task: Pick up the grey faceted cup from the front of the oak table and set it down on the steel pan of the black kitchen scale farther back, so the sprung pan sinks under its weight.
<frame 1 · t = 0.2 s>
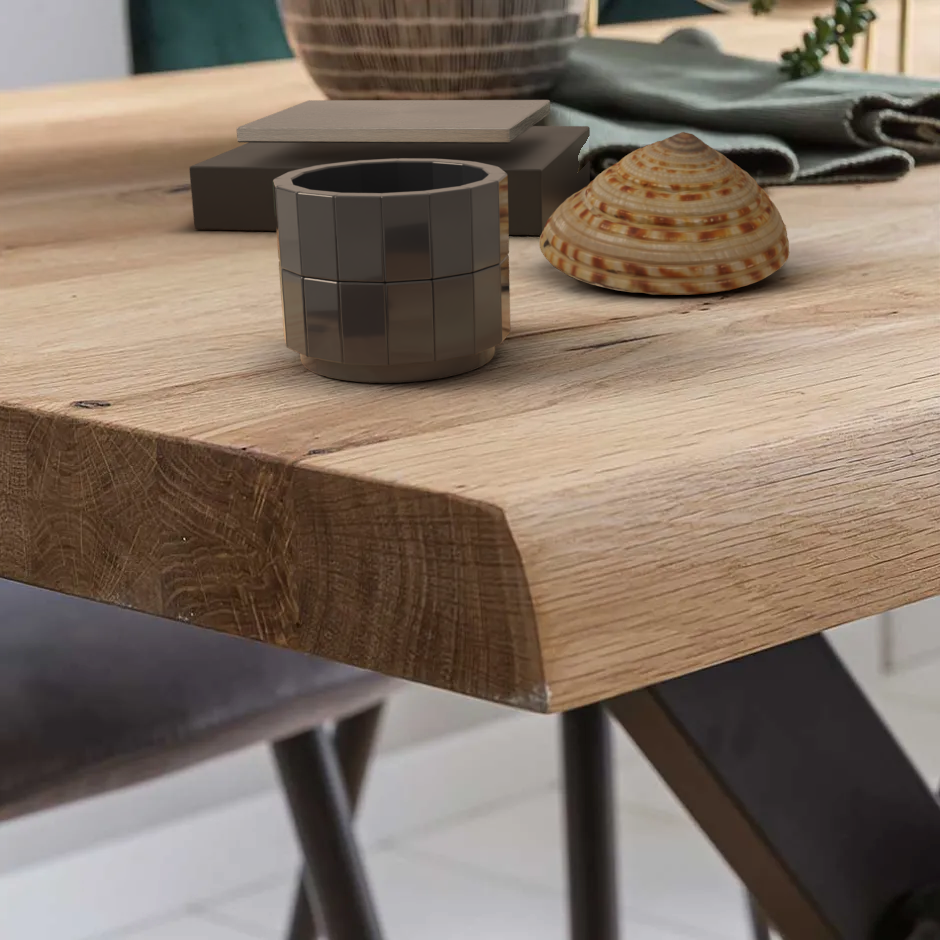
grey faceted cup: (398, 355, 44), on the table
scale: (403, 204, 66), on the table
scale pan: (400, 120, 65), point 4 cm above the table, slide at 0.0 cm
seashell: (660, 273, 54), on the table
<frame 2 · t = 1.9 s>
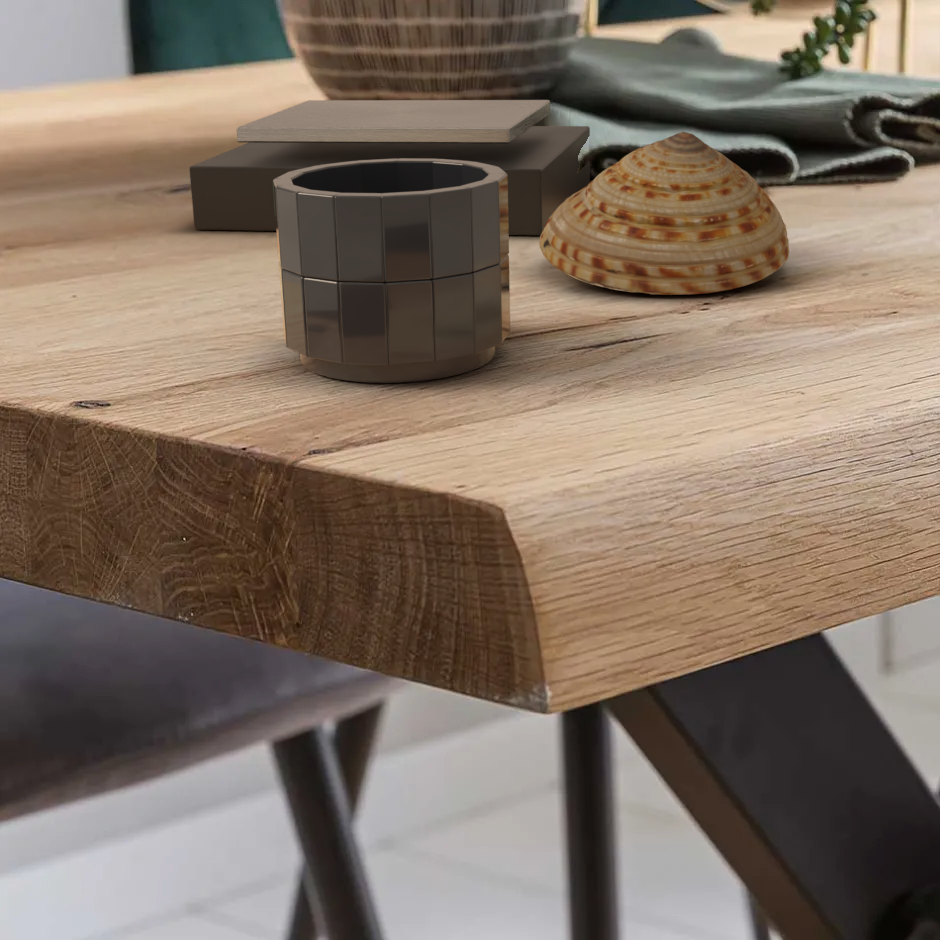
nothing on the table moved.
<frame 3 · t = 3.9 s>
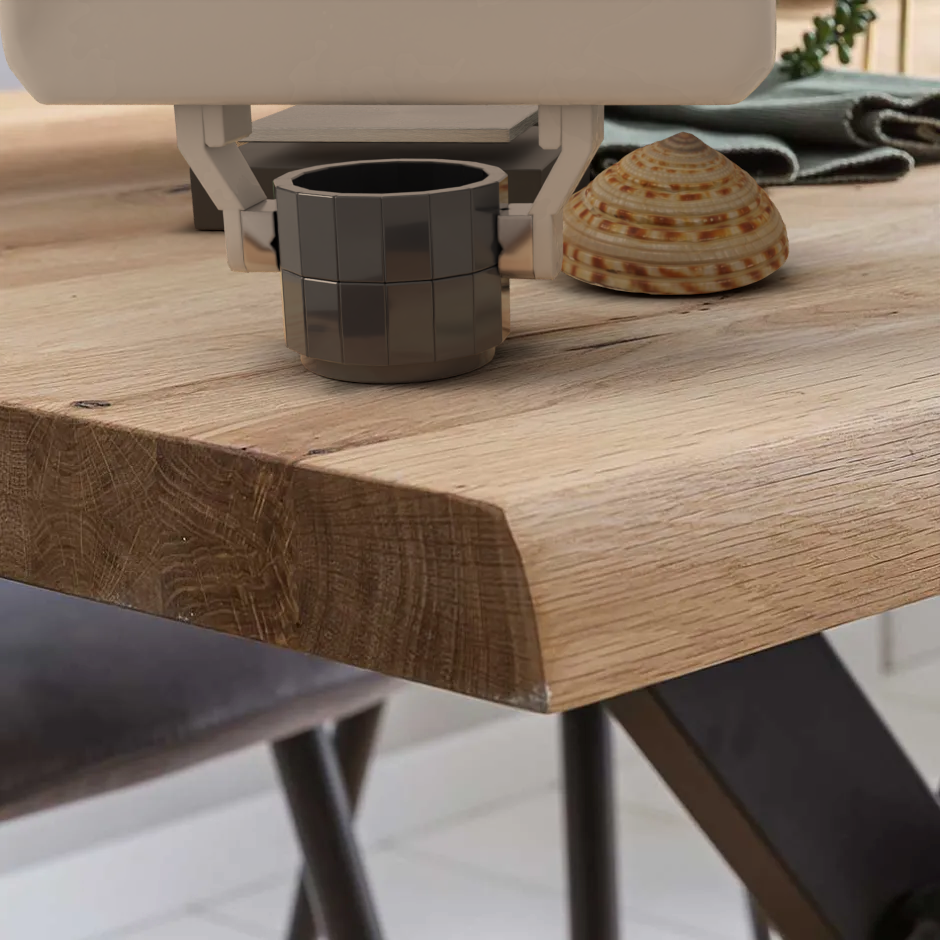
hand: (393, 272, 43), 2 cm above the table, tool pointing down, fingers closed on grey faceted cup, 6 cm apart
grey faceted cup: (398, 356, 44), on the table, touching gripper
everything else where it was.
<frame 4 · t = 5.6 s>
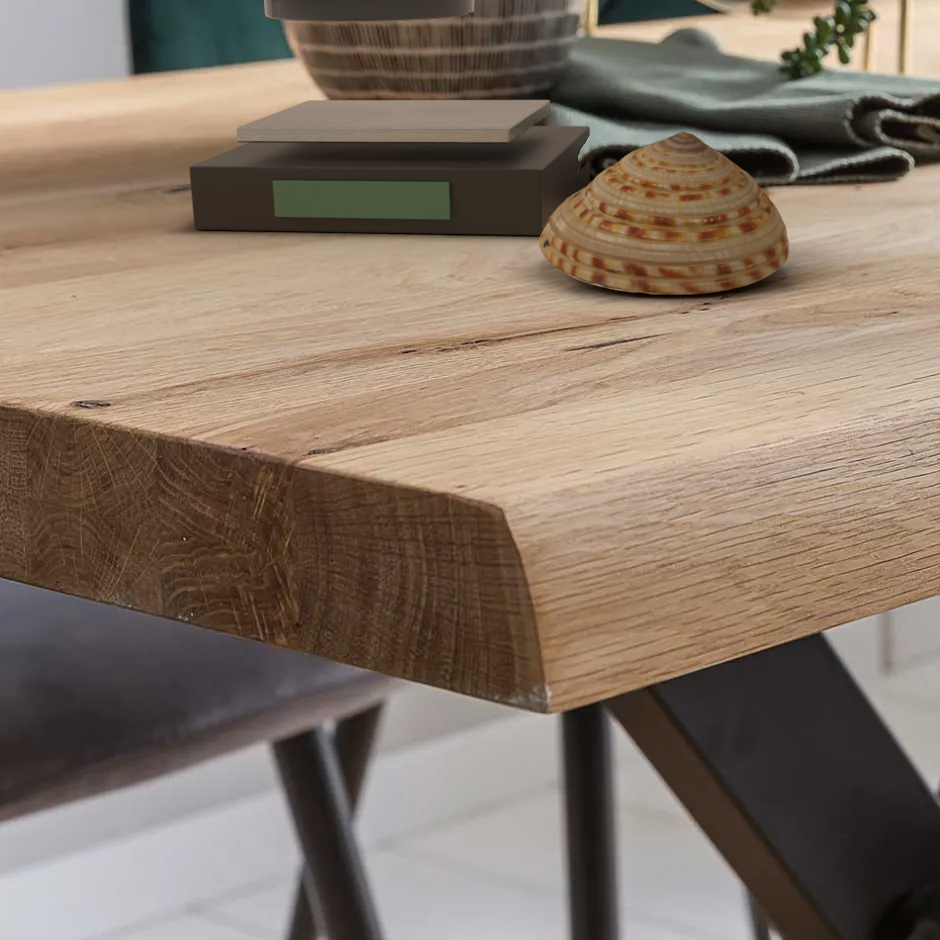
grey faceted cup: (370, 14, 41), point 9 cm above the table, touching gripper
everything else where it was.
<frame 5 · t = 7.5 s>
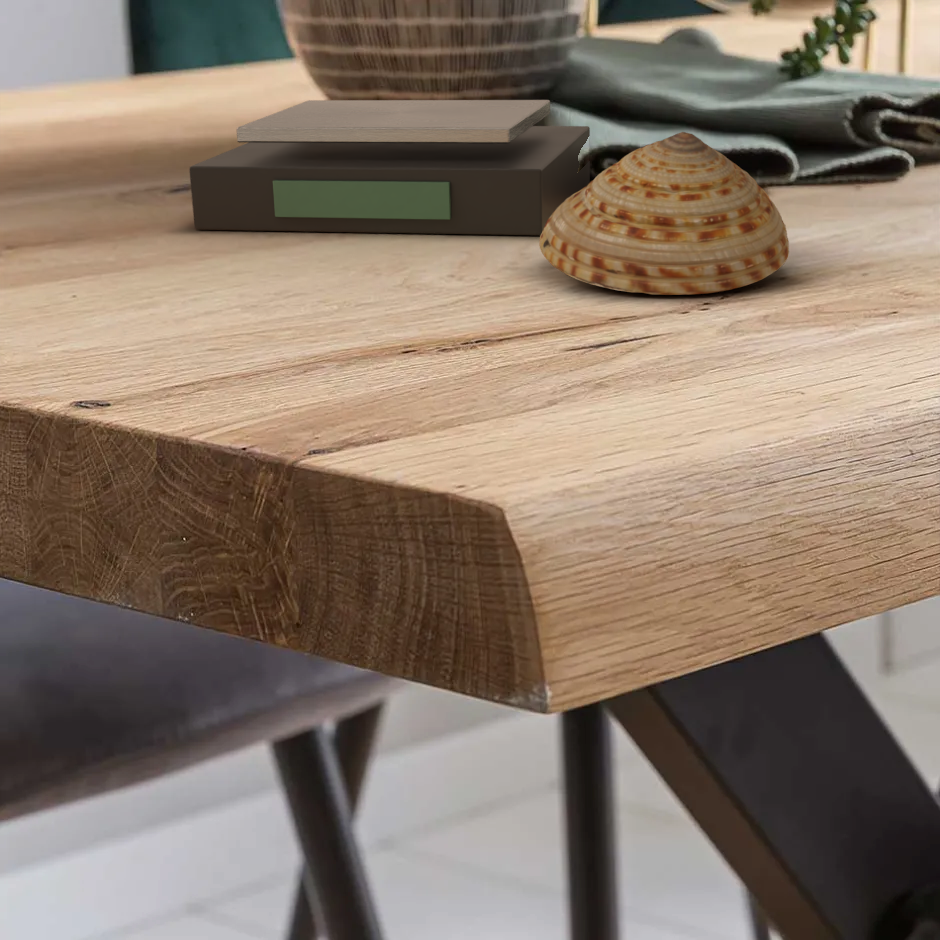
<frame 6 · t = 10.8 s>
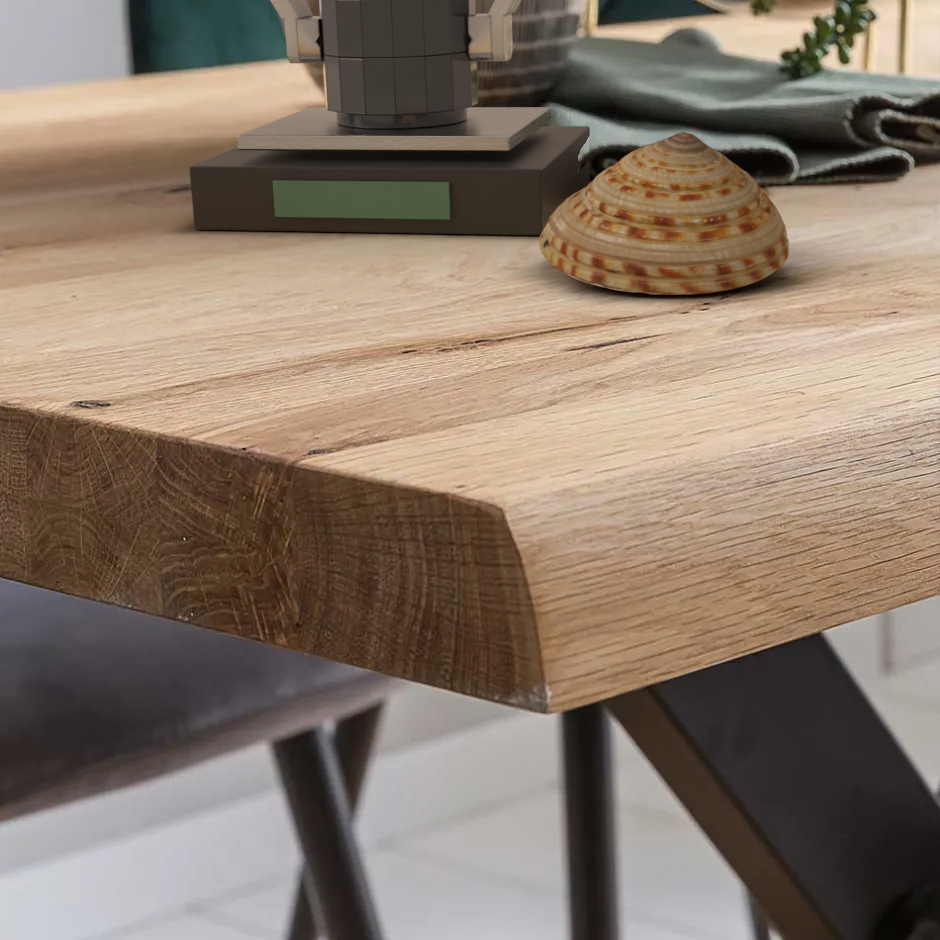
hand: (399, 61, 64), 6 cm above the table, tool pointing down, fingers closed on grey faceted cup, 6 cm apart
grey faceted cup: (402, 120, 65), point 4 cm above the table, touching gripper, scale pan
scale pan: (400, 127, 65), point 3 cm above the table, slide at -0.3 cm, touching grey faceted cup
everything else where it was.
when the fingers open (6 cm above the table, at t = 11.0 s): grey faceted cup stays where it is, resting on scale pan.
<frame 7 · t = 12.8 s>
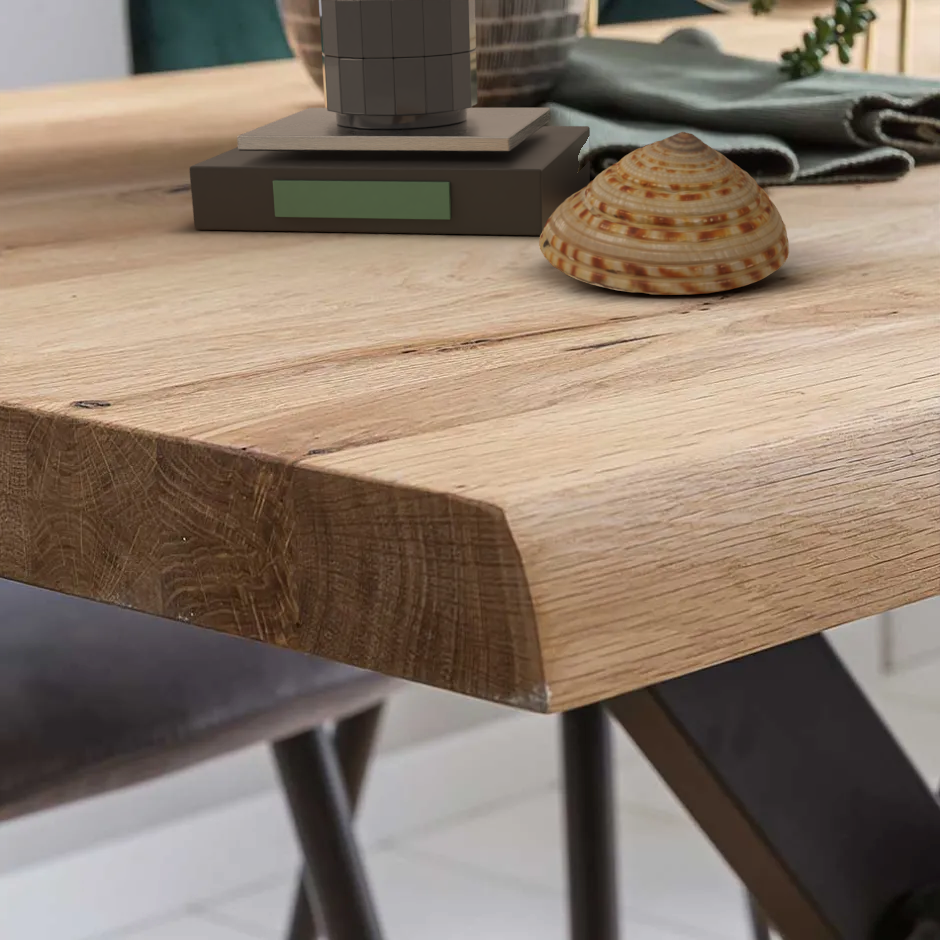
grey faceted cup: (401, 120, 65), point 3 cm above the table, touching scale pan
everything else where it was.
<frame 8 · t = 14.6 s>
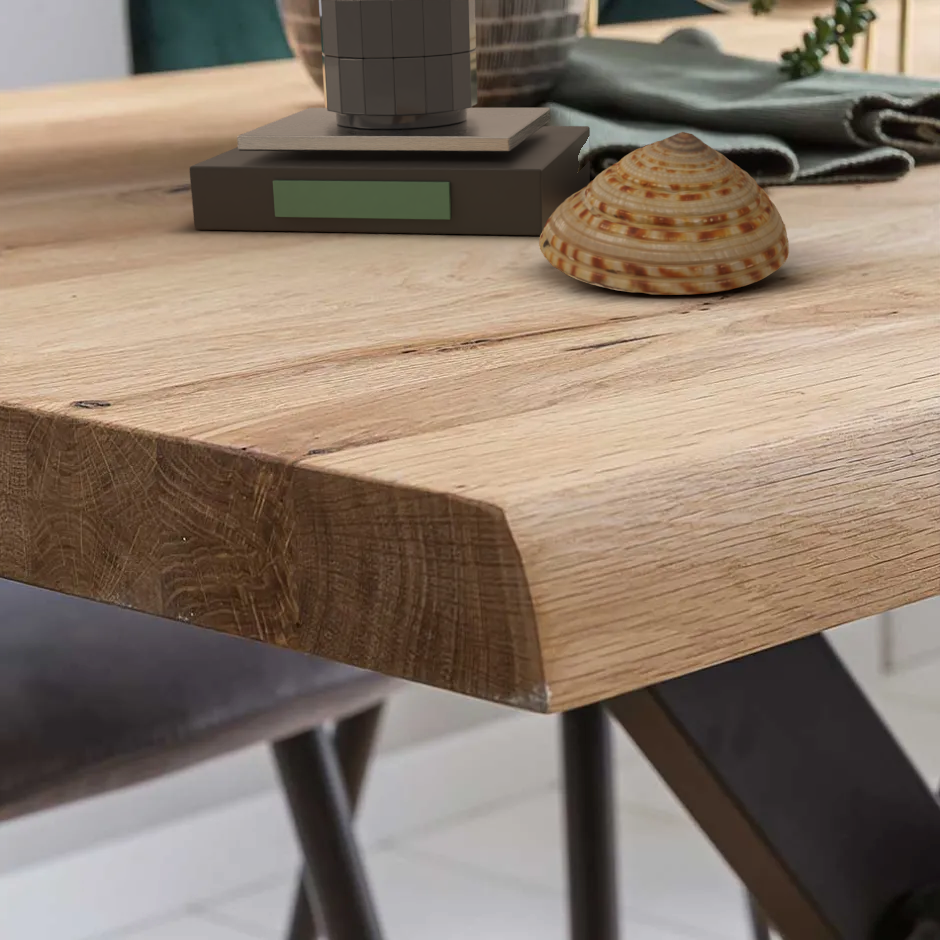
nothing on the table moved.
at the end: grey faceted cup inside the target area on the scale (0.1 cm from its centre), point 3.5 cm above the scale's base; grey faceted cup tilted 0°; scale pan slide at -0.3 cm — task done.
